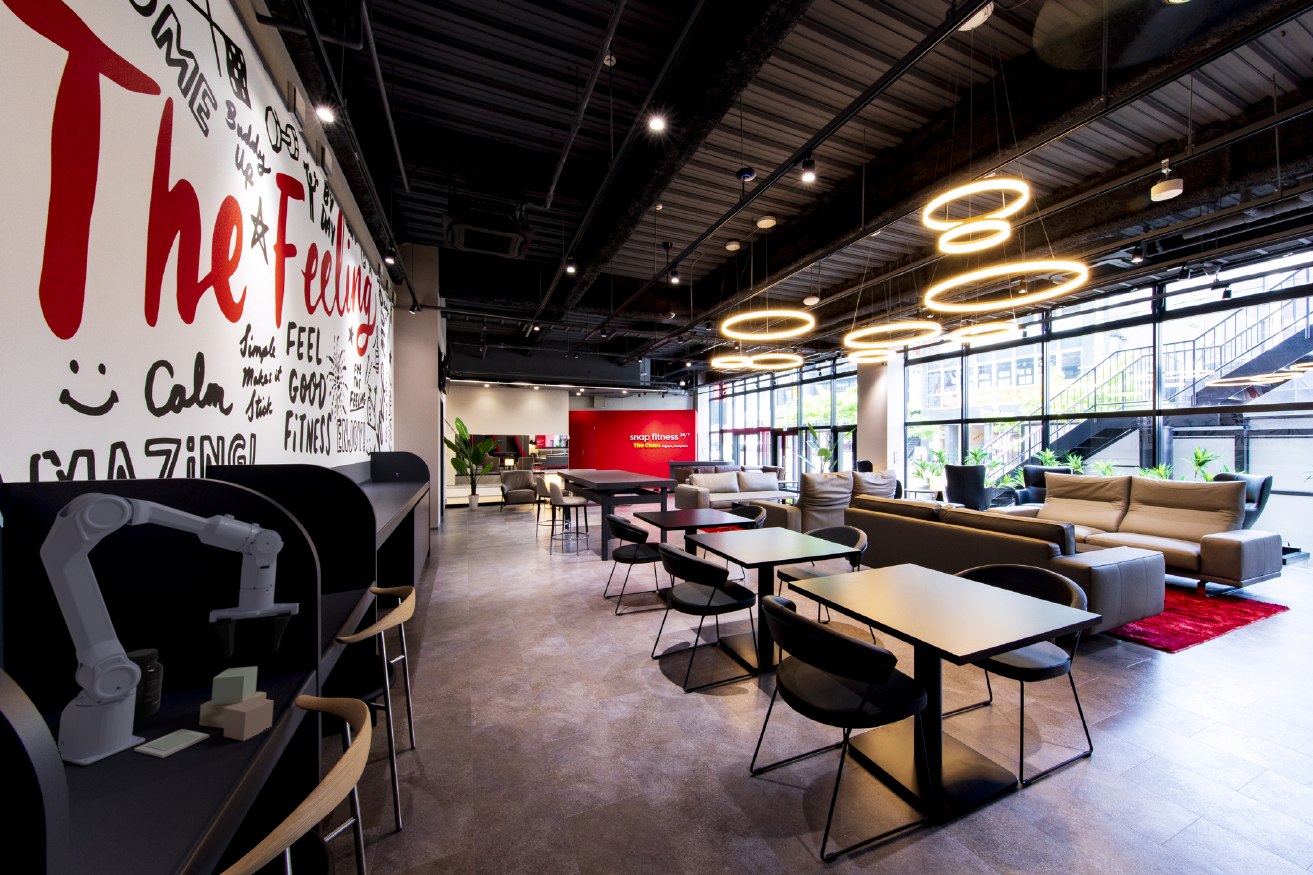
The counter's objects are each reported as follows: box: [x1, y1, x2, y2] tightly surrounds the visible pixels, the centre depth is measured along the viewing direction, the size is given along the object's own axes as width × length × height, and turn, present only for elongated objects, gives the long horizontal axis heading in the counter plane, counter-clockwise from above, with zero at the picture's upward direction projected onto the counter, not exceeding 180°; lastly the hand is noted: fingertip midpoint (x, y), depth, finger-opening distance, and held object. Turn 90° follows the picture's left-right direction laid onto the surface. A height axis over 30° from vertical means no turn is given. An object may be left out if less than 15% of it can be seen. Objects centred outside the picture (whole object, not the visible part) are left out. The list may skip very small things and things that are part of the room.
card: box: [134, 728, 210, 759], centre depth 89 cm, size 7×7×1 cm
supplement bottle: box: [126, 648, 164, 722], centre depth 99 cm, size 7×7×12 cm
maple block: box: [198, 690, 267, 729], centre depth 98 cm, size 7×7×4 cm
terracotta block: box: [223, 697, 275, 742], centre depth 94 cm, size 5×5×5 cm
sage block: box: [211, 665, 258, 705], centre depth 99 cm, size 5×5×5 cm
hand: (252, 652), depth 105 cm, fingers open, 7 cm apart
